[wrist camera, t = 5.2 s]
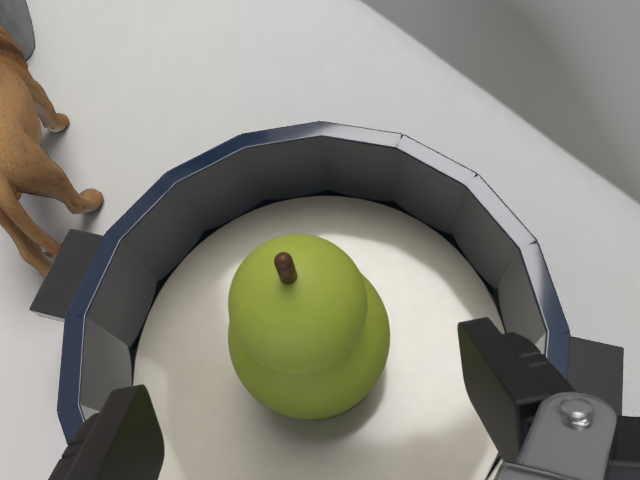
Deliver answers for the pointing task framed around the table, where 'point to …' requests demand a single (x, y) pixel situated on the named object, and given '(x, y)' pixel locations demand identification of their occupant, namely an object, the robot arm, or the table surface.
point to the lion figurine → (30, 158)
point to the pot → (372, 261)
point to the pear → (306, 328)
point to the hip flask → (18, 24)
